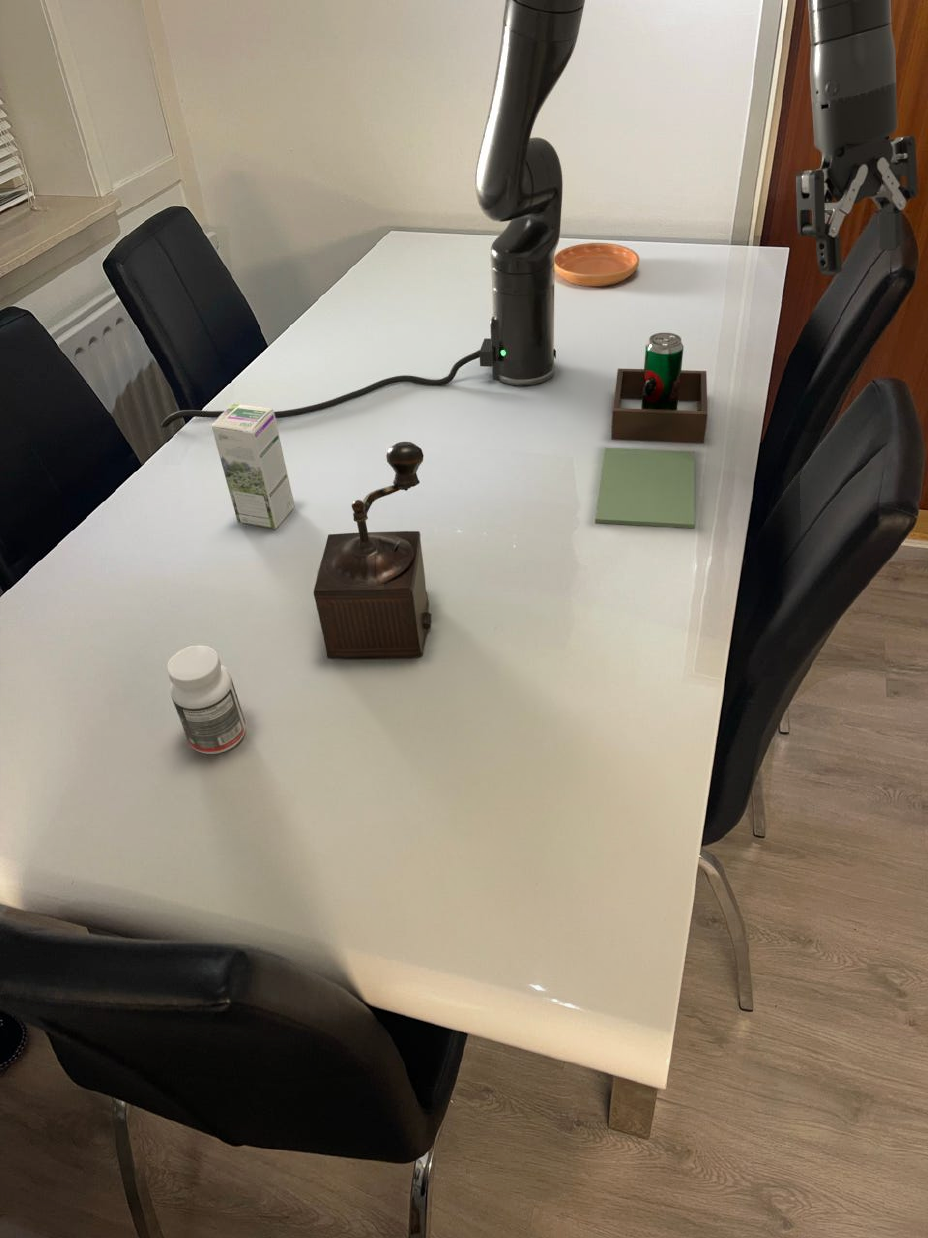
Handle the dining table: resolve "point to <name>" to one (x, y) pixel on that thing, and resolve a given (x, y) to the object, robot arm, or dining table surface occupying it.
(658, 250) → the dining table surface
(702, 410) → the crate
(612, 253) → the saucer
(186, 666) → the pill bottle
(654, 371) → the soda can
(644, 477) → the mat
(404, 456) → the manual coffee grinder
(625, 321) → the dining table surface
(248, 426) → the syrup box
